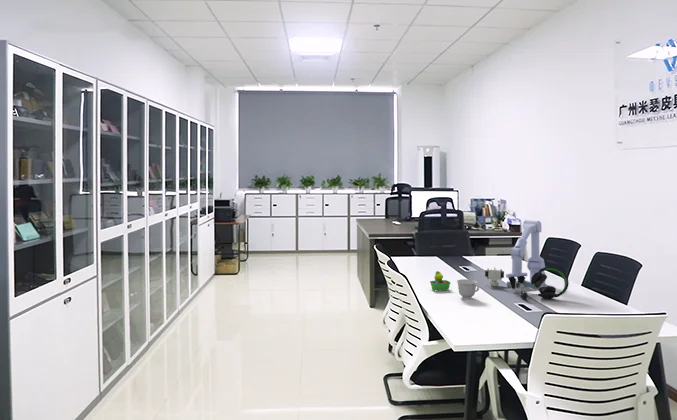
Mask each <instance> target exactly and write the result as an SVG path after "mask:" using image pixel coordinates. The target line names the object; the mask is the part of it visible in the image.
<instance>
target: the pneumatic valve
mask: <svg viewBox="0 0 677 420" xmlns="http://www.w3.org/2000/svg"><path fill="white" fill-rule="evenodd" d="M484 277H485V278H486V279H487V280H490V281H489V285H490V286H492V287H498V286H499V282H500V281H502V279H504V278H505V271H504V270H502V268H496V267H493V268H490V267H489V268H487V269H485V271H484ZM498 280H499V281H498Z"/></svg>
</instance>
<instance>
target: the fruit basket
mask: <svg viewBox="0 0 677 420" xmlns="http://www.w3.org/2000/svg"><path fill="white" fill-rule="evenodd" d="M443 278H444V276H443V274H442V273H441V271H439V270H437V271H435V274H434V280H430V281H429V283H430V286H431V290H433V289H434V290H433V291H435V290H441V291H449V289H450V286H451V281H448V280H447V279H443Z"/></svg>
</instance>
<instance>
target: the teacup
mask: <svg viewBox="0 0 677 420" xmlns="http://www.w3.org/2000/svg"><path fill="white" fill-rule="evenodd" d="M456 283H457V286H458V287H457V288H458V293H459V295H460V296H461V299H463V300H472V299H473V298H472V297H473V296H475V294H476V292H478V291H479V290H480V284H478V281H477V280H474V279H465V278H464V279H457V280H456Z"/></svg>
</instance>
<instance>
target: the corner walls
mask: <svg viewBox="0 0 677 420" xmlns="http://www.w3.org/2000/svg"><path fill="white" fill-rule="evenodd" d="M516 282H518V280H516ZM531 283H532V282H530V280H526V279H525V280H524V282H523V286H524V287H527V288H531V289H534V290H537V291H538V292H539V288H541V287H542V285H540V287H538V288H536V287H535V286H534V284H533V285H532V284H531ZM506 287H507V288H510V281H506Z"/></svg>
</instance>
